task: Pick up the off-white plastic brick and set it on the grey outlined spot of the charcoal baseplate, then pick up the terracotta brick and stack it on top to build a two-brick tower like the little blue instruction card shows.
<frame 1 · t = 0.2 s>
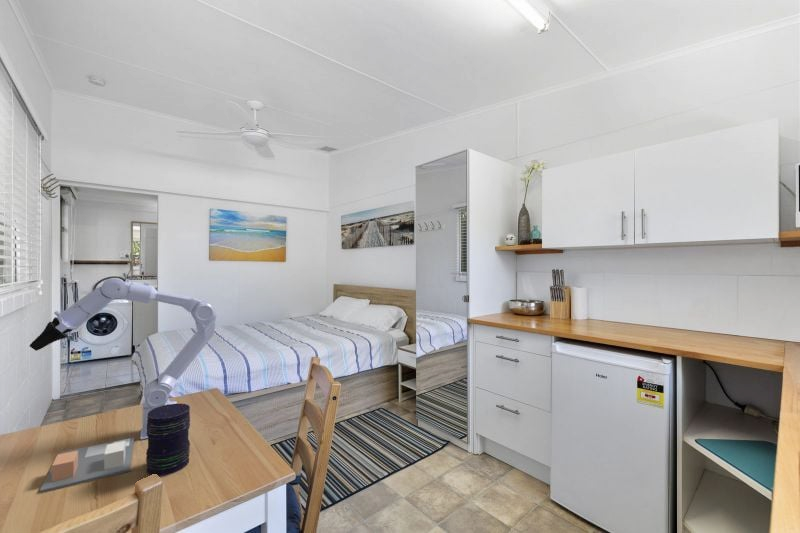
hand: (36, 345, 99), 31 cm above the table, tool tilted 45°, fingers open, 7 cm apart
off-white brick: (115, 462, 97), point 1 cm above the table, touching baseplate
baseplate: (93, 462, 98), on the table
terracotta brick: (65, 473, 92), point 1 cm above the table, touching baseplate
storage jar: (168, 466, 97), on the table
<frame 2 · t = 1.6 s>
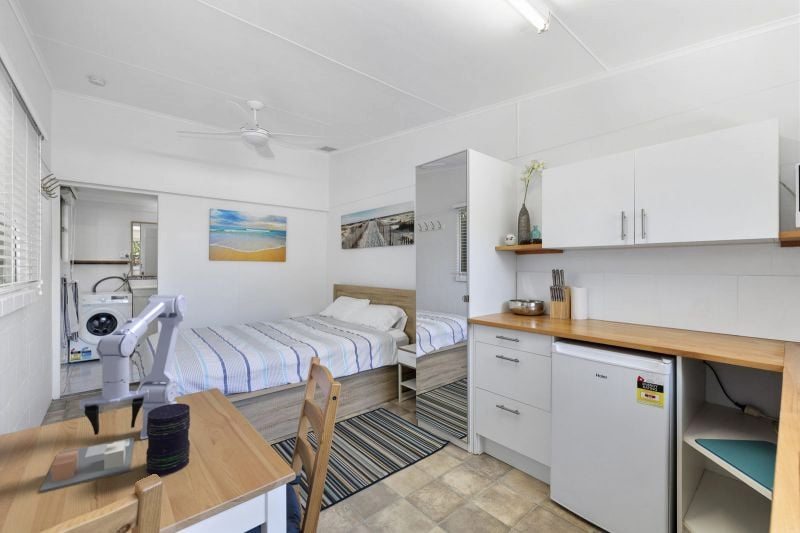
hand: (115, 429, 97), 9 cm above the table, tool pointing down, fingers open, 7 cm apart
nothing on the table moved.
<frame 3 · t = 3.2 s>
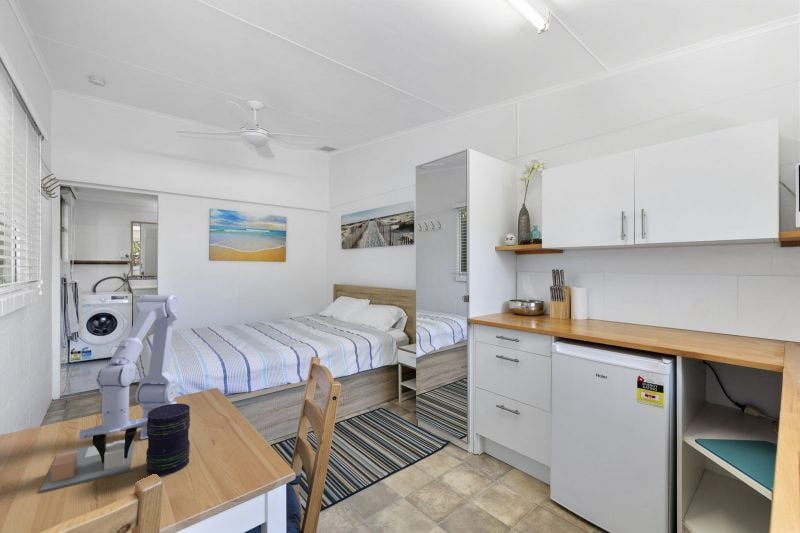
hand: (115, 459, 97), 1 cm above the table, tool pointing down, fingers closed on off-white brick, 4 cm apart
off-white brick: (115, 462, 97), point 1 cm above the table, touching baseplate, gripper
everything else where it was.
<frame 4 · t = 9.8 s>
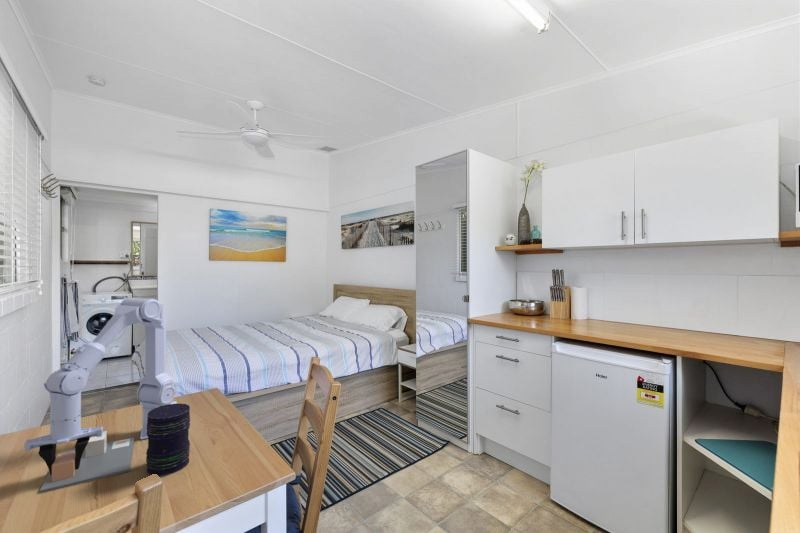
hand: (65, 470, 92), 1 cm above the table, tool pointing down, fingers closed on terracotta brick, 4 cm apart
off-white brick: (96, 450, 103), point 1 cm above the table, touching baseplate
terracotta brick: (65, 473, 92), point 1 cm above the table, touching baseplate, gripper
everything else where it was.
when the fingers open (6 cm above the table, at t = 12.5 s): terracotta brick stays where it is, resting on off-white brick.
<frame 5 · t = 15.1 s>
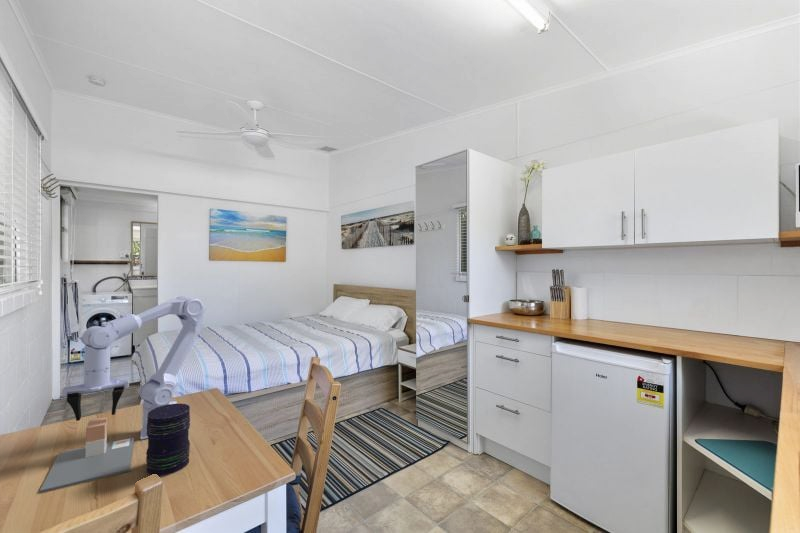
hand: (96, 416, 103), 10 cm above the table, tool pointing down, fingers open, 7 cm apart
off-white brick: (96, 450, 103), point 1 cm above the table, touching baseplate, terracotta brick
terracotta brick: (96, 436, 103), point 5 cm above the table, touching off-white brick
everything else where it was.
at the end: off-white brick 0.1 cm from the target spot on the baseplate, point 0.7 cm above the baseplate's base; terracotta brick 0.1 cm off-centre on the off-white brick, point 4.0 cm above the off-white brick's base; terracotta brick tilted 0° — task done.
